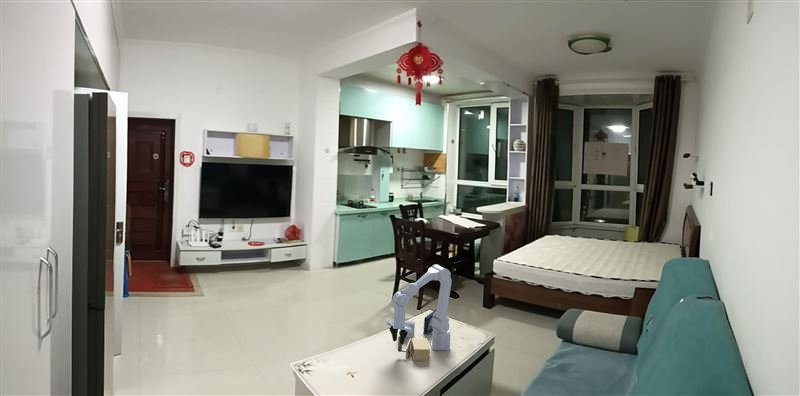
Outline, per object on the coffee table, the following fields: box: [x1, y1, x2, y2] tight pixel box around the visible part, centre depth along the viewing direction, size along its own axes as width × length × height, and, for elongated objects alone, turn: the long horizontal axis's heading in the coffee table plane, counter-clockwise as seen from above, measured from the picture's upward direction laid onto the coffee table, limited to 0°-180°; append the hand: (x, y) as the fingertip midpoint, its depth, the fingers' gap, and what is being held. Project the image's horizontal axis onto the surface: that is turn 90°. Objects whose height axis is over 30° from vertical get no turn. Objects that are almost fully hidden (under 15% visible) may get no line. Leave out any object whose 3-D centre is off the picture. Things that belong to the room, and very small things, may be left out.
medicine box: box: [399, 319, 416, 340], centre depth 222 cm, size 8×4×9 cm, turn 84°
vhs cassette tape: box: [423, 308, 437, 335], centre depth 233 cm, size 18×3×10 cm, turn 147°
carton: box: [410, 337, 431, 362], centre depth 202 cm, size 8×12×6 cm, turn 4°
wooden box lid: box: [397, 335, 412, 361], centre depth 202 cm, size 5×12×10 cm, turn 170°
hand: (398, 342), depth 200 cm, fingers open, 4 cm apart
